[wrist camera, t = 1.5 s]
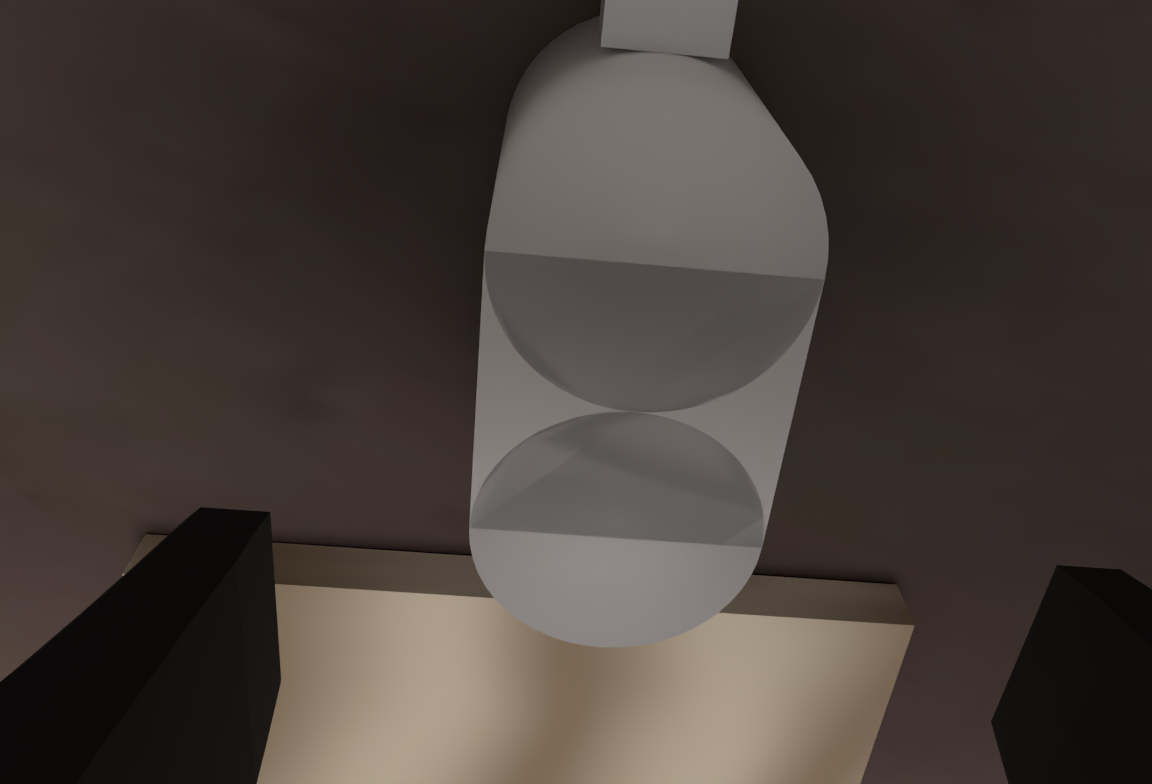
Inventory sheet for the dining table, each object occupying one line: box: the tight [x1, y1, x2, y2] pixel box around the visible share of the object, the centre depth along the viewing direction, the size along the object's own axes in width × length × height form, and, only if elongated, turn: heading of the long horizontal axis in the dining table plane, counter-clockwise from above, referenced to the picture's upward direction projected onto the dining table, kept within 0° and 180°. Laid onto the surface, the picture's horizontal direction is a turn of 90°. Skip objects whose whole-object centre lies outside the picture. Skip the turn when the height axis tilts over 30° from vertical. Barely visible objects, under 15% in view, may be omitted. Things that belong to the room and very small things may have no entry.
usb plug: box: [469, 0, 829, 648], centre depth 15 cm, size 4×10×5 cm, turn 174°
